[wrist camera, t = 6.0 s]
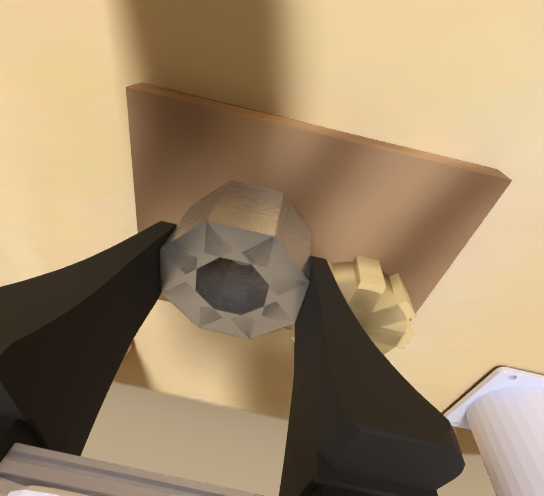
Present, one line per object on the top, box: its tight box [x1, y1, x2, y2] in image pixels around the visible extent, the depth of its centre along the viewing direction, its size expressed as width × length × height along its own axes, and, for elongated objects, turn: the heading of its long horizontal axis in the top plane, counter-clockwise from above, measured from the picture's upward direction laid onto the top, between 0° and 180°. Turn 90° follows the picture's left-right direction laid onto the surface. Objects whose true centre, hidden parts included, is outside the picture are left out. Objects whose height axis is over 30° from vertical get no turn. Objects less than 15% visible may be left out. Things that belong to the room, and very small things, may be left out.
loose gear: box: [160, 180, 311, 339], centre depth 12 cm, size 5×5×3 cm
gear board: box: [126, 83, 512, 355], centre depth 15 cm, size 16×12×4 cm
